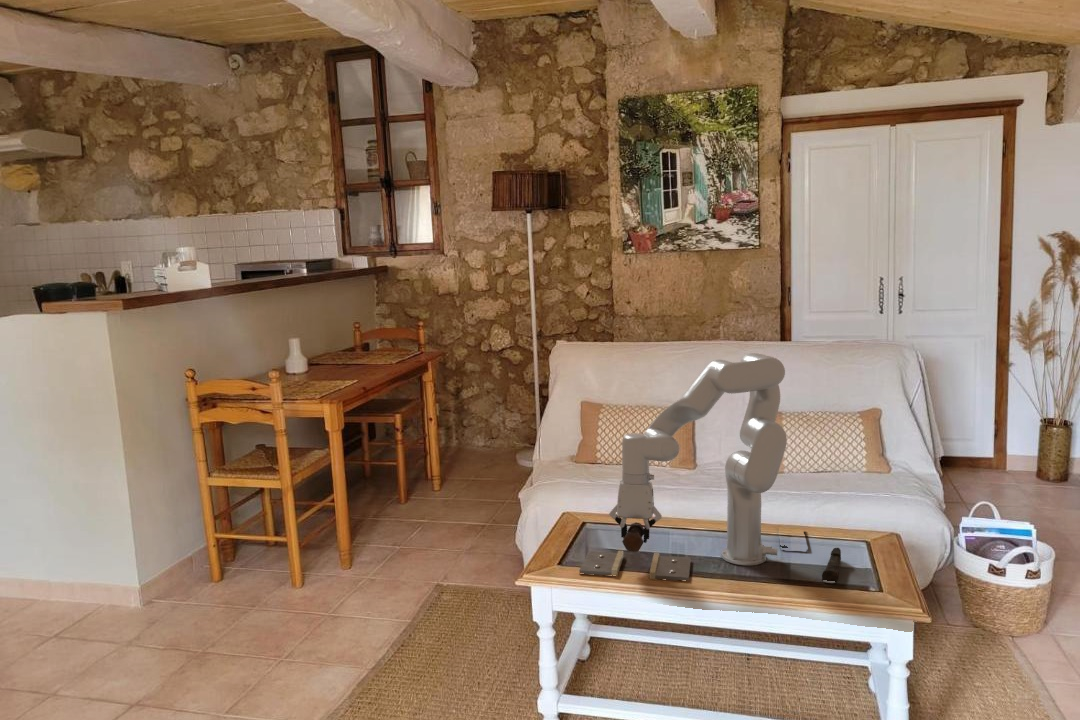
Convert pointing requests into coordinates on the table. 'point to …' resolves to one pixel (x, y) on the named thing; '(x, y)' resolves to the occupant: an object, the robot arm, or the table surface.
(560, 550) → the table surface
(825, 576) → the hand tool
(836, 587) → the table surface
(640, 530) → the bolt
